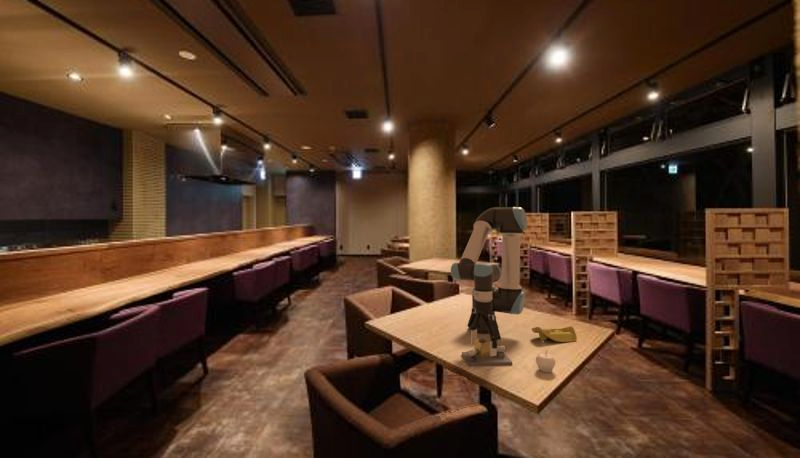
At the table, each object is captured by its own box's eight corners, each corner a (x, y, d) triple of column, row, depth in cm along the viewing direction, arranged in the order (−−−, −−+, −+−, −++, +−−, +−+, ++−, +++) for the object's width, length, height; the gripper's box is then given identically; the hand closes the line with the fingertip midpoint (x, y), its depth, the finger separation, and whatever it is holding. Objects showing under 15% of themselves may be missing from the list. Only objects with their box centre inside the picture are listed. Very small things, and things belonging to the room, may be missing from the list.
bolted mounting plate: (502, 353, 159) (502, 341, 159) (512, 364, 147) (512, 351, 147) (461, 354, 158) (461, 342, 158) (468, 366, 146) (468, 353, 146)
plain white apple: (558, 374, 139) (559, 353, 138) (540, 374, 138) (541, 354, 138) (549, 366, 146) (550, 346, 145) (532, 367, 145) (532, 347, 145)
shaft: (473, 356, 153) (473, 347, 153) (480, 359, 150) (480, 349, 150) (465, 359, 150) (465, 350, 150) (472, 362, 147) (472, 352, 147)
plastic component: (560, 329, 186) (574, 325, 177) (564, 344, 183) (578, 341, 174) (527, 329, 181) (539, 326, 172) (530, 345, 178) (543, 342, 169)
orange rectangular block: (483, 353, 157) (483, 337, 156) (490, 357, 152) (490, 340, 152) (474, 354, 155) (474, 338, 155) (481, 359, 150) (481, 342, 150)
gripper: (459, 295, 163) (459, 341, 164) (494, 307, 140) (494, 362, 141) (473, 293, 166) (473, 339, 167) (510, 305, 143) (509, 359, 144)
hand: (483, 350), depth 154 cm, fingers open, 13 cm apart
